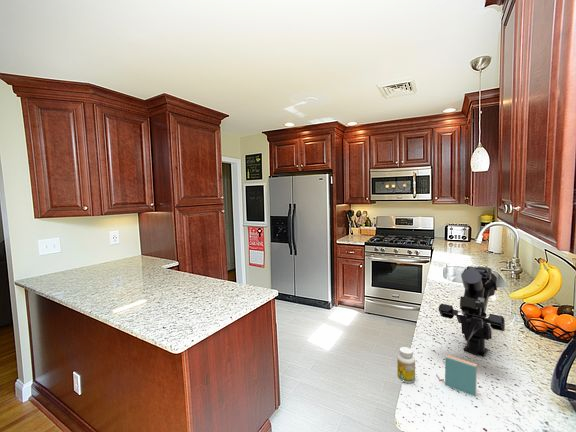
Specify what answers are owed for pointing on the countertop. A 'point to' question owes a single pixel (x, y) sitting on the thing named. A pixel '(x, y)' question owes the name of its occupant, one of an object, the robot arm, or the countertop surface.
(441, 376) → the countertop surface
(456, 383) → the tile
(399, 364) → the supplement bottle
